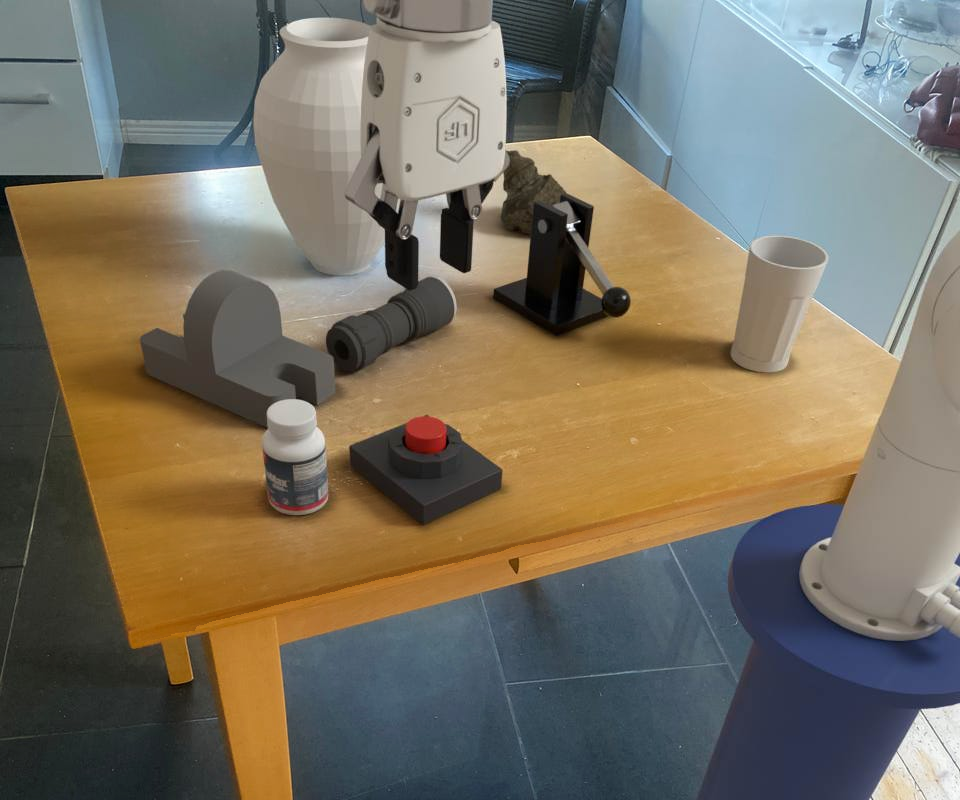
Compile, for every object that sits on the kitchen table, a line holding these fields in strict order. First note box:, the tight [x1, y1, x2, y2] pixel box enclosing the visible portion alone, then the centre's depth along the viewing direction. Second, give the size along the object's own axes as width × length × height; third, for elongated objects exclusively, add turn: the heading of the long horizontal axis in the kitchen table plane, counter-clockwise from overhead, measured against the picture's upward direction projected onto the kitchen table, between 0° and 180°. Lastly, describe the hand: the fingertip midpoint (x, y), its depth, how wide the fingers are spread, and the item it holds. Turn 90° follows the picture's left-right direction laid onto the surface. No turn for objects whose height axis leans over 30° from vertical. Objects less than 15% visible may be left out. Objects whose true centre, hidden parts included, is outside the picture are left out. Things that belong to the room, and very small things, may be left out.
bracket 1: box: [139, 269, 336, 429], centre depth 96 cm, size 10×18×11 cm, turn 57°
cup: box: [730, 235, 829, 373], centre depth 105 cm, size 8×8×12 cm
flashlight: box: [325, 275, 458, 372], centre depth 104 cm, size 15×5×5 cm, turn 141°
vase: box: [253, 17, 401, 277], centre depth 111 cm, size 18×18×25 cm
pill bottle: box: [261, 398, 329, 516], centre depth 83 cm, size 5×5×9 cm
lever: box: [552, 201, 632, 318], centre depth 108 cm, size 14×3×3 cm, turn 40°
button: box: [405, 415, 446, 454], centre depth 87 cm, size 4×4×2 cm
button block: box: [348, 414, 504, 526], centre depth 88 cm, size 11×9×4 cm
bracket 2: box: [492, 192, 609, 337], centre depth 111 cm, size 11×9×12 cm
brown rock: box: [499, 149, 598, 235], centre depth 128 cm, size 11×12×10 cm
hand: (429, 272), depth 76 cm, fingers open, 4 cm apart
